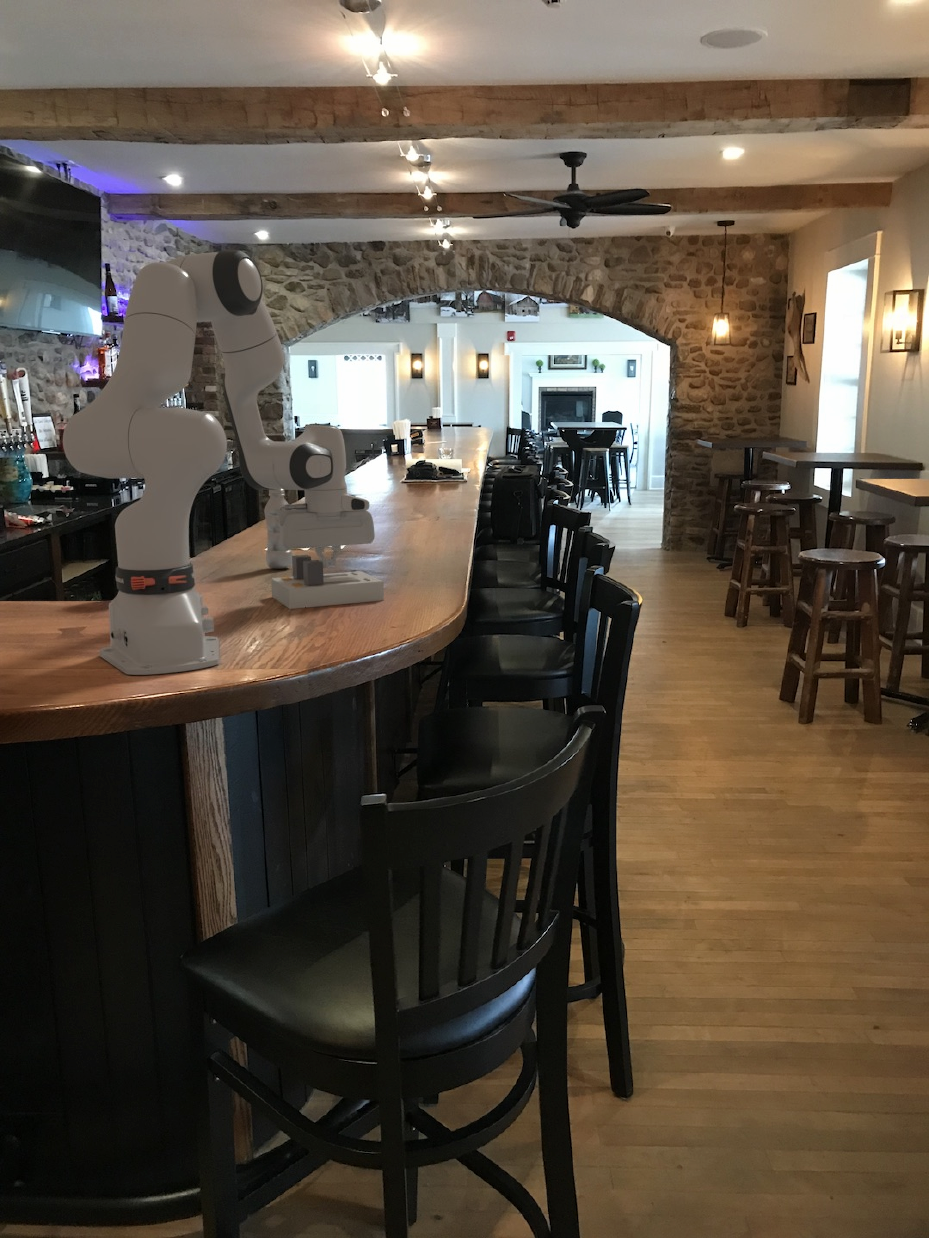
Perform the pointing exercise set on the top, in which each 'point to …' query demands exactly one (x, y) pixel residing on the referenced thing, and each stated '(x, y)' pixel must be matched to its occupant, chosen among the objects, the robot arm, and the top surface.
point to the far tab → (299, 565)
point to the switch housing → (328, 590)
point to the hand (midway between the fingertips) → (328, 567)
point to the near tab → (313, 572)
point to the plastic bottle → (276, 532)
